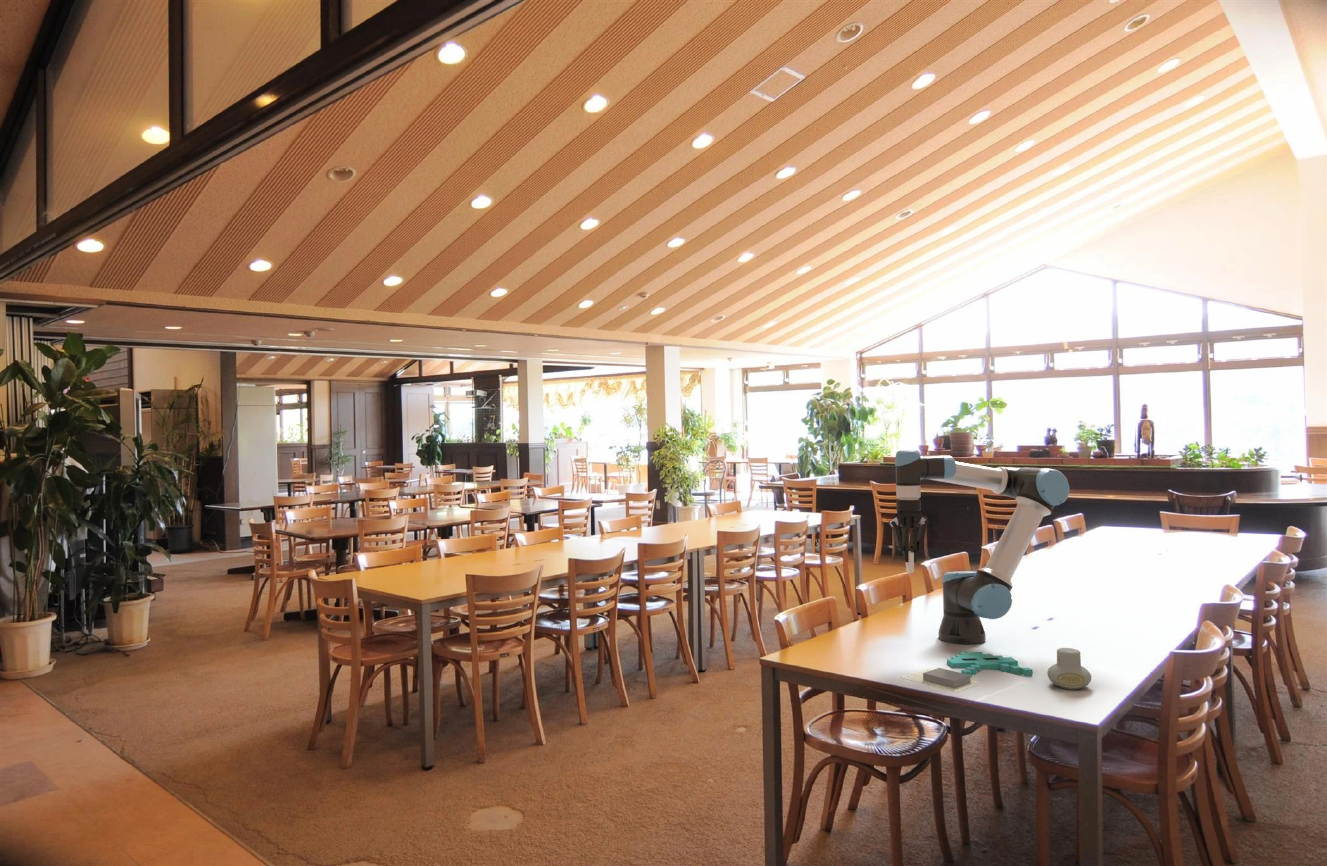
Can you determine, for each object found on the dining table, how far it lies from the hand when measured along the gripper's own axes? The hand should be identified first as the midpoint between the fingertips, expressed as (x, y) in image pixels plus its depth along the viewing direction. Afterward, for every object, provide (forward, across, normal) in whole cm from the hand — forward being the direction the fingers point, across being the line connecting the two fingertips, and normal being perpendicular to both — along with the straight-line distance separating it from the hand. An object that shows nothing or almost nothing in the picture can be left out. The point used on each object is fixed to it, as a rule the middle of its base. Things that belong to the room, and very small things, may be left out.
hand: (910, 572), depth 262 cm
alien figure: (+27, -15, +17) cm, 35 cm away
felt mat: (+26, +4, +28) cm, 39 cm away
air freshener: (+27, -28, +39) cm, 55 cm away
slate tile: (+25, +6, +25) cm, 36 cm away
